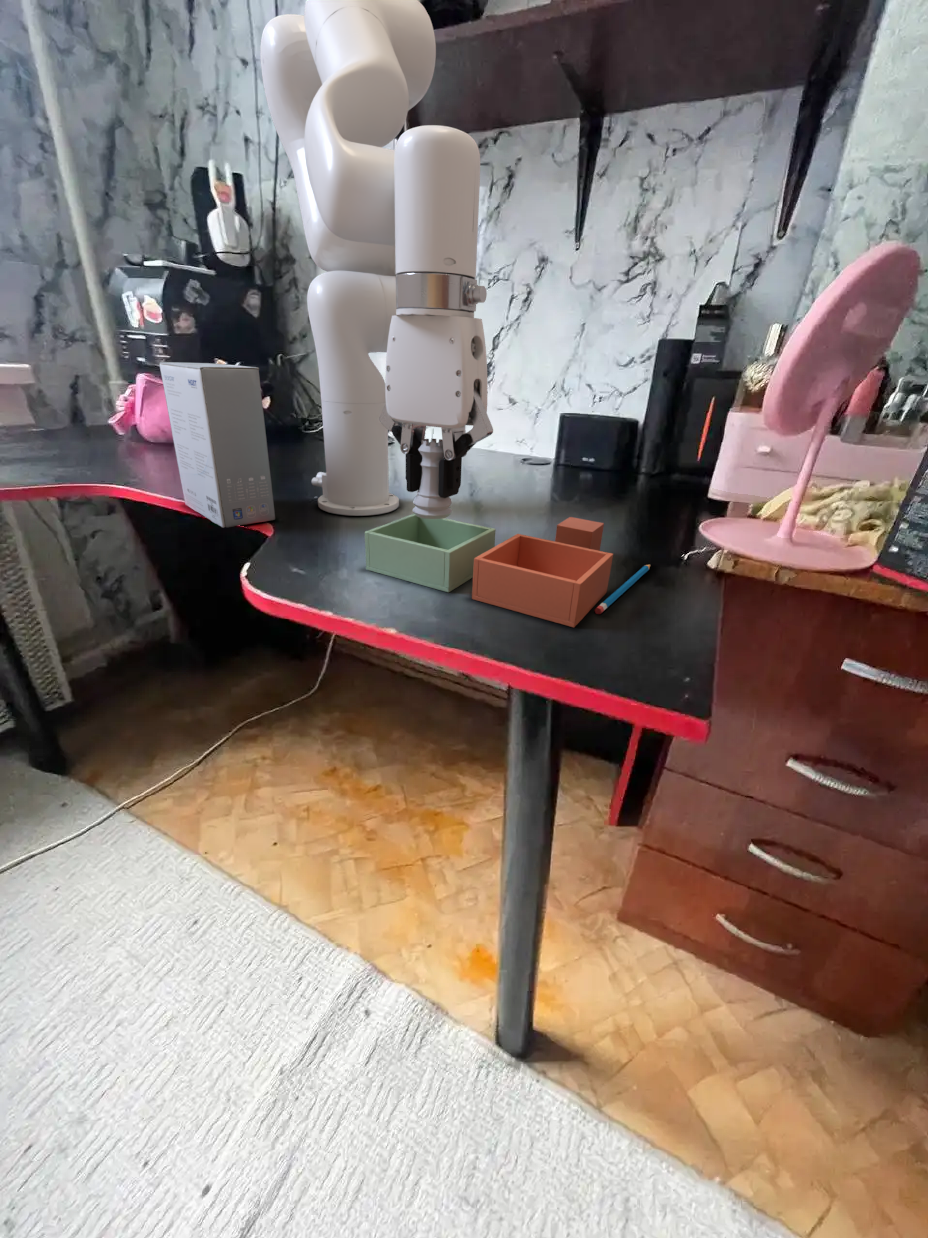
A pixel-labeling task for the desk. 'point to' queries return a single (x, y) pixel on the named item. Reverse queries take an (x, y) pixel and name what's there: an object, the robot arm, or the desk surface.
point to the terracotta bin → (542, 578)
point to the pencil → (621, 590)
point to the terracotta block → (580, 533)
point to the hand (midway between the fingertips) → (432, 490)
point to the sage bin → (427, 550)
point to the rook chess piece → (431, 483)
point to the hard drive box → (220, 440)
